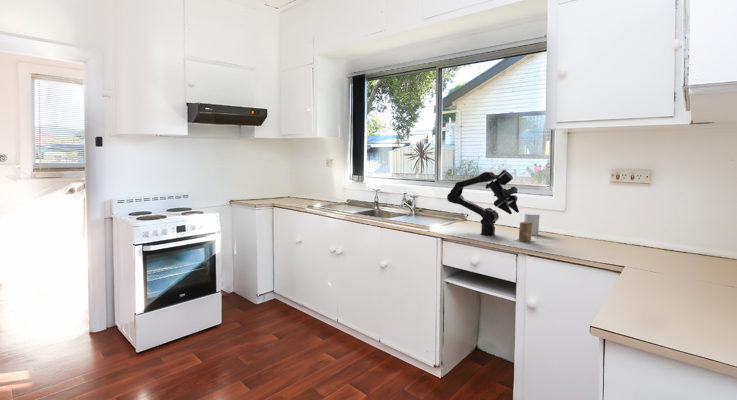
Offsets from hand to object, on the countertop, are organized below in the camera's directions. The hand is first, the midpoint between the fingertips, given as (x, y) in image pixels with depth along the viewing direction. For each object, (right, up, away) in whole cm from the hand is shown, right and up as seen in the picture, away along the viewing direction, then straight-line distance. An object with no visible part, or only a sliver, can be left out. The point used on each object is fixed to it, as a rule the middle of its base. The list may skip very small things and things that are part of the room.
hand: (514, 213), depth 221 cm
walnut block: (+4, -15, -4) cm, 16 cm away
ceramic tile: (+16, -15, -2) cm, 22 cm away
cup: (+15, -13, +16) cm, 26 cm away
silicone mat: (+4, -15, -4) cm, 16 cm away
